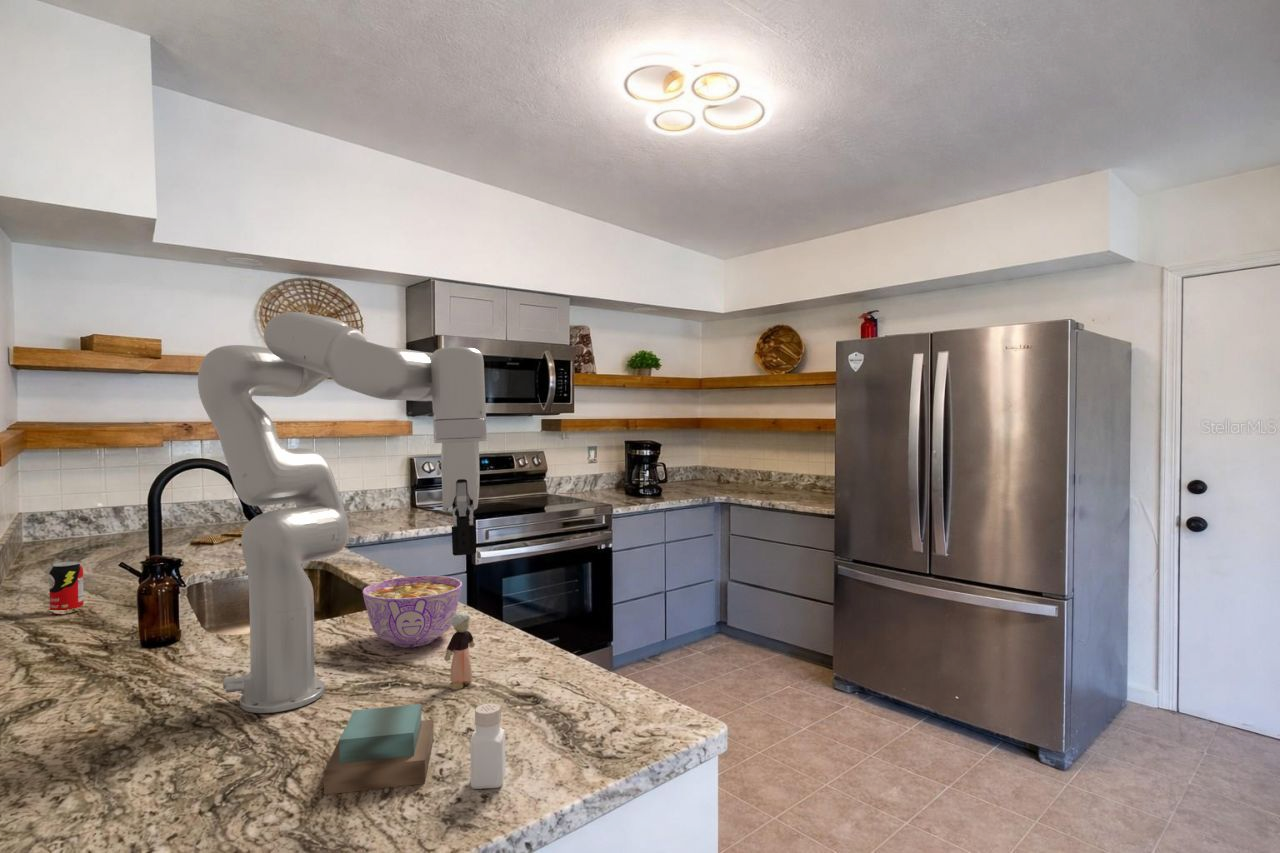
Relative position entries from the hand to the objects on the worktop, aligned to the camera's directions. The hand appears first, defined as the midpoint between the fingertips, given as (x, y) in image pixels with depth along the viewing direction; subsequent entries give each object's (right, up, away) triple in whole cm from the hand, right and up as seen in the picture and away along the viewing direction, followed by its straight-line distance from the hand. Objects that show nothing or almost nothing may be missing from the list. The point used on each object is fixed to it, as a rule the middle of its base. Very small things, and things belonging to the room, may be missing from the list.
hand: (465, 548), depth 99 cm
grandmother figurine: (-6, -28, +20) cm, 35 cm away
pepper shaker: (+6, -28, -12) cm, 31 cm away
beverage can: (-115, -28, +67) cm, 136 cm away
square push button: (-9, -28, -8) cm, 30 cm away
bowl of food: (-22, -28, +43) cm, 56 cm away
